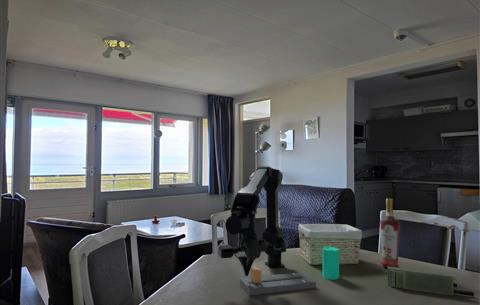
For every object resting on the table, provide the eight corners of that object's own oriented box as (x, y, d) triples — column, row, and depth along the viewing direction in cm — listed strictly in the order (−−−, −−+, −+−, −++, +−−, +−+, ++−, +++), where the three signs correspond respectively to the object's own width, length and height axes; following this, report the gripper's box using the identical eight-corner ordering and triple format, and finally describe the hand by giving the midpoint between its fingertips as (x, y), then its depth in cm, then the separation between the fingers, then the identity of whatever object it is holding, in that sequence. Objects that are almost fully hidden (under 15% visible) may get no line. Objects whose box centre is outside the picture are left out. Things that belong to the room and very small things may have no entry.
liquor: (379, 268, 130) (378, 199, 131) (381, 263, 136) (381, 197, 137) (399, 271, 126) (398, 200, 127) (400, 266, 132) (400, 198, 133)
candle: (339, 280, 116) (339, 246, 116) (322, 278, 117) (322, 245, 117) (338, 274, 121) (338, 242, 122) (322, 273, 123) (322, 242, 123)
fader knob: (250, 279, 109) (250, 266, 109) (257, 278, 109) (257, 266, 110) (254, 283, 105) (254, 270, 105) (261, 282, 106) (261, 269, 106)
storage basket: (346, 254, 149) (346, 223, 150) (363, 265, 133) (363, 230, 134) (296, 255, 146) (297, 223, 147) (308, 267, 130) (308, 230, 131)
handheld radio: (387, 284, 113) (472, 296, 103) (388, 287, 110) (475, 300, 100) (387, 265, 113) (472, 275, 103) (387, 268, 110) (475, 279, 100)
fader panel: (239, 284, 111) (239, 277, 111) (301, 277, 118) (301, 271, 118) (249, 295, 101) (249, 288, 101) (316, 287, 108) (316, 281, 108)
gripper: (225, 235, 96) (225, 287, 96) (282, 232, 102) (282, 281, 101) (217, 228, 107) (217, 275, 107) (269, 225, 113) (268, 270, 112)
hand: (246, 275), depth 106 cm, fingers closed
